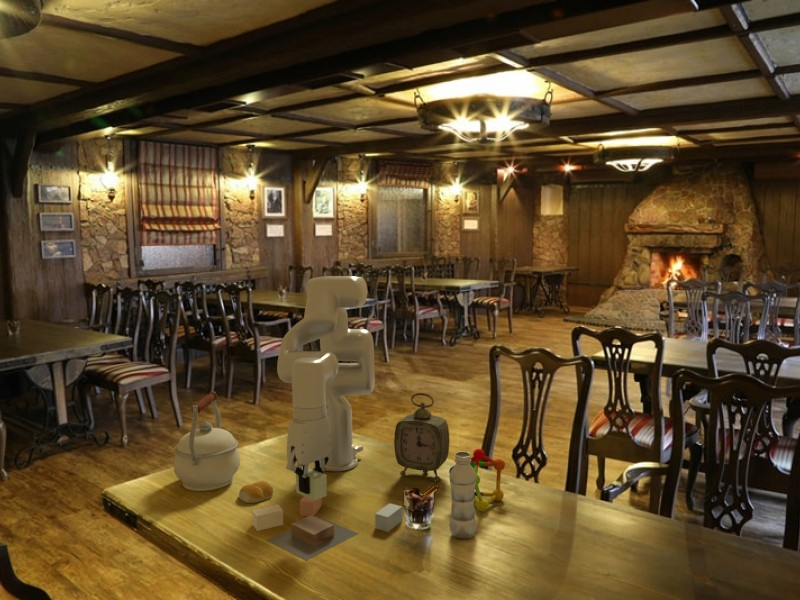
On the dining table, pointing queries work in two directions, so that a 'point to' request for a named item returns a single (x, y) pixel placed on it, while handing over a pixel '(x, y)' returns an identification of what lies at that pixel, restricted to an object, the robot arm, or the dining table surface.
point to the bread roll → (256, 492)
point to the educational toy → (475, 463)
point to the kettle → (206, 452)
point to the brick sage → (314, 485)
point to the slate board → (305, 549)
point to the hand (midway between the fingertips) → (311, 488)
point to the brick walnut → (312, 530)
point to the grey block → (388, 517)
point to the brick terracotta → (309, 506)
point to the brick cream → (267, 517)
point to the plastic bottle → (462, 497)
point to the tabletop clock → (421, 440)
